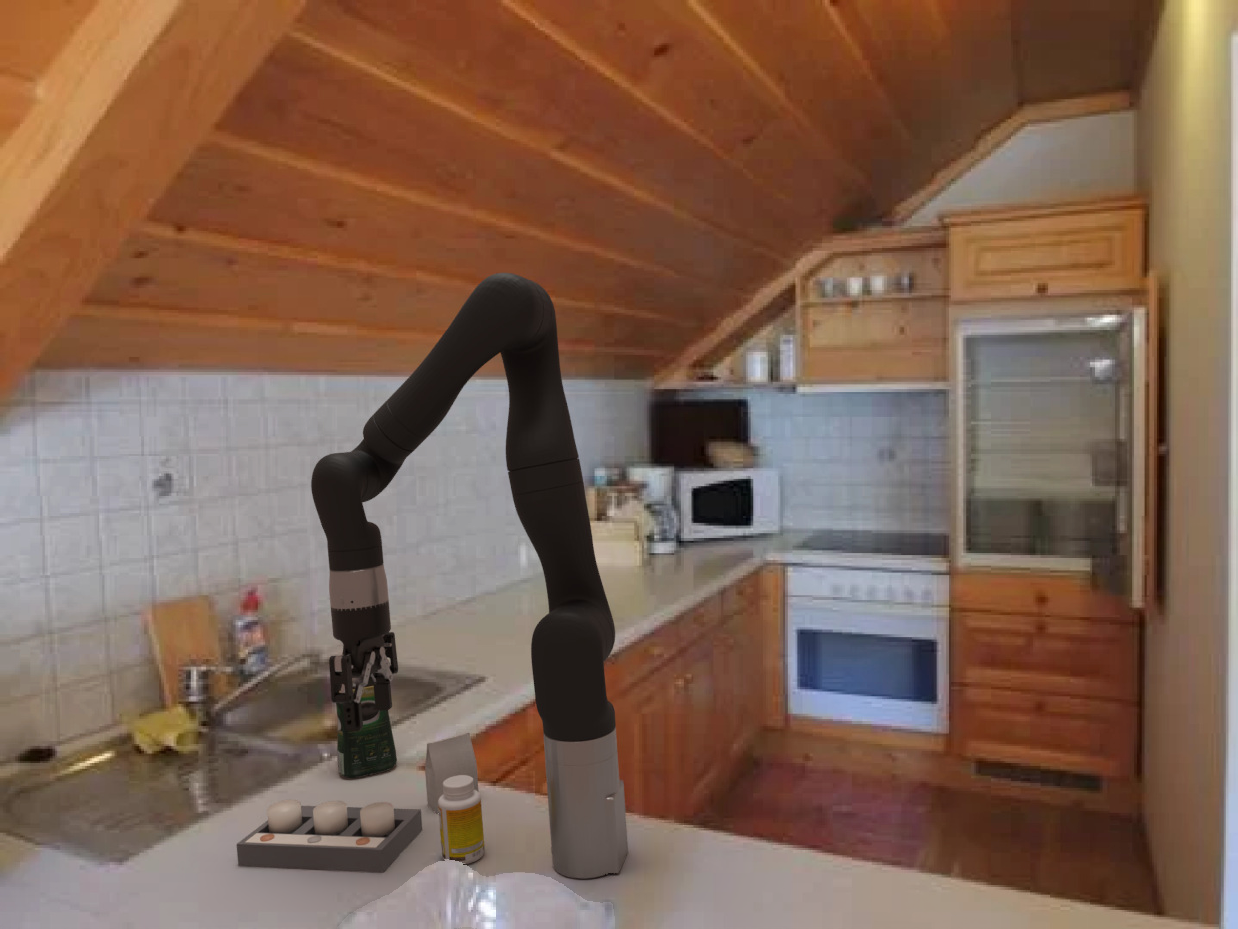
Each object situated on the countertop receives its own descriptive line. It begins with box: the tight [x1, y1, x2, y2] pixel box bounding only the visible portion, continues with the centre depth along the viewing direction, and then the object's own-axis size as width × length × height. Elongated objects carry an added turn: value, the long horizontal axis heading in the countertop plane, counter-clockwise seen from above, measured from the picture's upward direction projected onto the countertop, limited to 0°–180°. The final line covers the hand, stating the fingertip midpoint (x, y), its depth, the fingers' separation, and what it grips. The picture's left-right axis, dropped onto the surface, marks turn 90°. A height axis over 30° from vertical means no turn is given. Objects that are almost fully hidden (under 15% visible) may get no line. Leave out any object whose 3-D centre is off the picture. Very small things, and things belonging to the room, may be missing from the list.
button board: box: [236, 805, 423, 873], centre depth 124 cm, size 21×12×3 cm, turn 78°
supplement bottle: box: [438, 775, 485, 865], centre depth 119 cm, size 6×6×10 cm
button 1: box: [266, 799, 302, 834], centre depth 125 cm, size 4×4×3 cm
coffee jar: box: [330, 676, 398, 779], centre depth 152 cm, size 10×8×19 cm
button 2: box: [360, 801, 395, 837], centre depth 123 cm, size 4×4×3 cm
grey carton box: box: [424, 732, 480, 815], centre depth 136 cm, size 4×7×10 cm, turn 124°
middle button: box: [313, 800, 348, 835], centre depth 124 cm, size 4×4×3 cm
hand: (369, 719), depth 122 cm, fingers open, 8 cm apart
